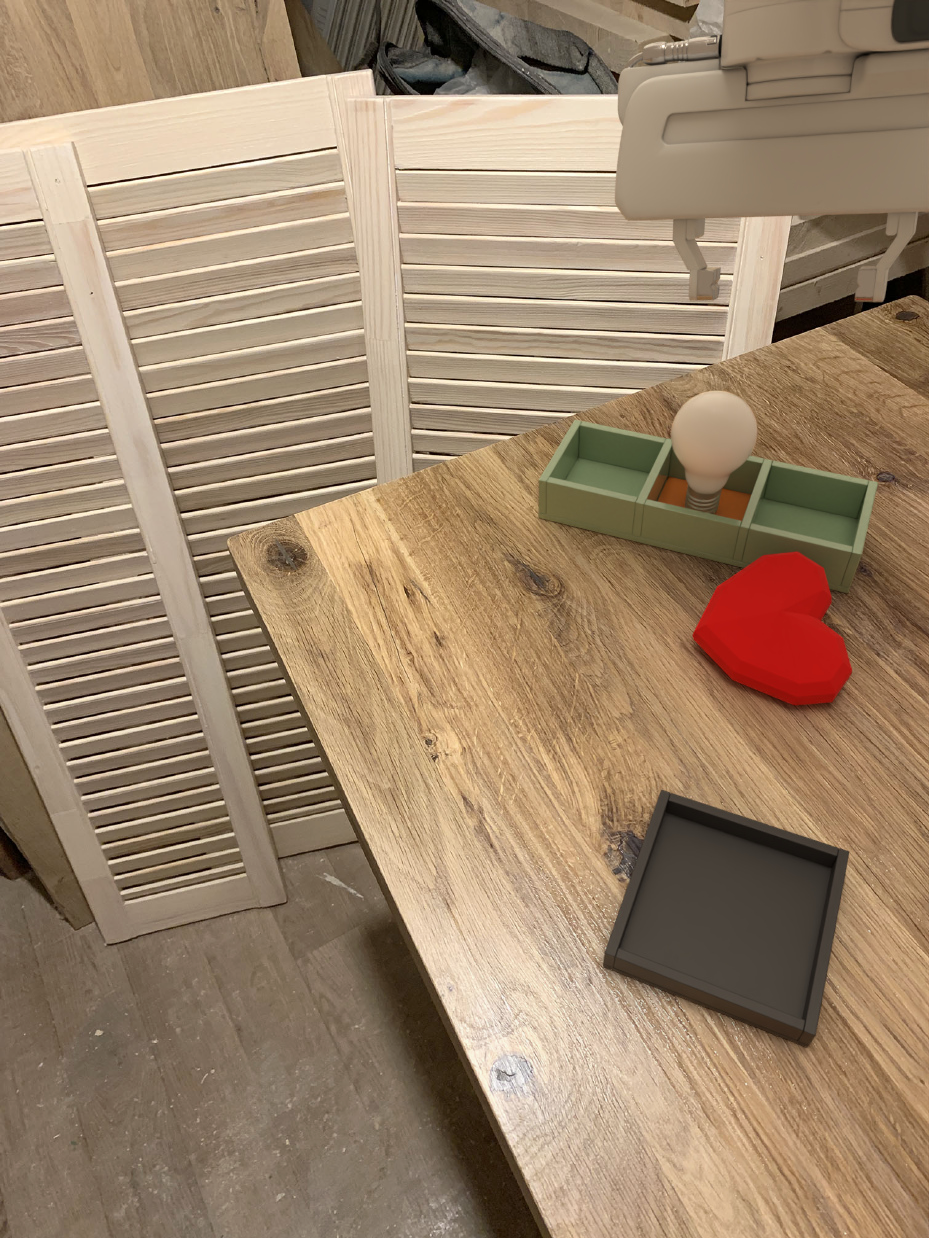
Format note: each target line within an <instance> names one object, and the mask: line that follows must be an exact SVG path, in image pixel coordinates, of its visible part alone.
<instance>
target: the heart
mask: <svg viewBox="0 0 929 1238" xmlns="http://www.w3.org/2000/svg"><path fill="white" fill-rule="evenodd" d="M832 599H833V598H832V594H831V589H829V585H828V582H827V578H826V574H825V571H824V568H823V567H822V566H820V565H818V564H817V563H815V562H814V561H812V560H810V559H809V558H807V557H806V556H804V555H802V554H801V553H799V552H788V553H779V554H769V555H763V556H761V557H760V558H758V559H757V560H755V561H754V562H752V563H751V564H750V565H748V566H747V567H745V568H742V569H741V570H739V571H738V572H736V573H735V574H734V575H732V576H730V577H729V578H728V579H726V580H725V581H723V582H722V583H720V584H718V585H717V586H716V588H715V590H714V591H713V593H712V595H711V598H710V600H709V601H708V603H707V605H706V607H705V609H704V611H703V613H702V615H701V617H700V619H699V621H698V623H697V625H696V627H695V628H694V631H693V632H692V634H691V637H692V639H693V641H694V642H695V643H696V644H697V645H698V646H699V648H701V649H702V650H703V651H704V652H705V653H706V654H707V655H708V656H709V657H710V659H712V660H713V662H714V663H715V664H716V665H717V666H718V667H719V668H720V669H721V670H722V671H723V672H724V673H725V674H726V675H727V676H728V677H729V678H730V679H731V680H732V681H734V682H736V683H739V684H741V685H743V686H746V687H748V688H751V689H753V690H756V691H759V692H761V693H763V694H765V695H768V696H770V697H773V698H775V699H778V700H780V701H782V702H784V703H787V704H790V705H792V706H805V705H817V704H828V703H829V704H830V703H833V702H834V700H835V699H836V698H837V696H838V695H839V693H840V692H841V691H842V689H843V688H844V686H845V685H846V683H847V682H848V680H849V679H850V677H851V675H852V674H853V668H852V664H851V660H850V656H849V654H848V653H849V652H848V650H847V647H846V644H845V640H844V637H842V636H841V635H840V634H838V633H837V632H836V631H835V630H833V629H832V628H831V627H829V626H828V625H827V624H825V623H824V622H823V621H822V620H823V619H824V616H825V615H826V613H827V611H828V610H829V608H830V606H831V605H832V603H833V600H832Z"/></svg>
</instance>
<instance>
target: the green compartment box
mask: <svg viewBox="0 0 929 1238" xmlns="http://www.w3.org/2000/svg"><path fill="white" fill-rule="evenodd" d="M687 486H688V483H687V481H686V477H685V469H684V467H683V465H682V464H681V463H680V461H679V460H678V458H677V457H676V455H675V453H674V450H673V447H672V443H671V438H668V437H662V436H657V435H652V434H647V433H642V432H637V431H634V430H633V431H632V430H628V429H625V428H624V429H623V428H618V427H613V426H610V425H603V424H599V423H594V422H590V421H584V420H581V419H574V420H573V422H572V423H571V425H570V427H569V428H568V430H567V431H566V433H565V435H564V436H563V438H562V440H561V442H560V443H559V445H558V447H557V448H556V450H555V452H554V453H553V455H552V457H551V458H550V460H549V462H548V464H547V465H546V467H545V468H544V470H543V472H542V474H541V475H540V477H539V479H538V519H542V520H546V521H550V522H554V523H557V524H562V525H566V526H571V527H575V528H579V529H583V530H587V531H589V532H590V531H591V532H595V533H600V534H602V535H608V536H611V537H615V538H618V539H624V540H626V541H627V540H628V541H631V542H636V543H639V544H643V545H648V546H652V547H656V548H661V549H664V550H669V551H672V552H677V553H681V554H685V555H689V556H693V557H697V558H701V559H705V560H708V561H713V562H718V563H721V564H725V565H730V566H733V567H738V568H742V569H744V568H745V567H747V566H748V565H750V564H751V563H752V562H754V561H755V560H757V559H758V558H760V557H761V556H763V555H769V554H779V553H788V552H799V553H801V554H802V555H804V556H806V557H807V558H809V559H810V560H812V561H814V562H815V563H817V564H818V565H820V566H822V567H823V568H824V571H825V574H826V578H827V582H828V585H829V589H830V591H831V590H832V591H836V592H840V593H844V594H849V592H850V590H851V587H852V585H853V581H854V578H855V576H856V572H857V570H858V567H859V564H860V562H861V559H862V556H863V552H864V548H865V543H866V540H867V539H866V538H867V534H868V530H869V525H870V522H871V517H872V512H873V508H874V502H875V499H876V495H877V490H878V486H879V482H878V481H875V480H869V479H865V478H860V477H855V476H851V475H846V474H840V473H836V472H831V471H826V470H821V469H817V468H813V467H806V466H802V465H799V464H793V463H788V462H784V461H777V460H772V459H768V458H764V457H761V456H755V455H750V457H749V458H748V459H747V460H746V462H745V463H744V464H743V465H741V466H740V467H739V468H738V469H737V470H735V471H734V472H732V473H731V474H730V476H729V478H728V480H727V482H726V484H725V485H724V487H723V488H722V491H721V495H720V501H719V506H718V510H717V512H716V513H715V514H709V513H705V512H701V511H696V510H692V509H688V508H685V501H686V500H685V499H686V494H687Z"/></svg>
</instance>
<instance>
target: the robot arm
mask: <svg viewBox="0 0 929 1238" xmlns="http://www.w3.org/2000/svg"><path fill="white" fill-rule="evenodd" d="M640 62H642V63H643V66H636V65H637V64H638V63H640ZM617 83H618V84H617V114H618V115H617V116H618V120H619V122H620V124H621V126H622V129H621V134H620V140H619V145H618V146H619V147H618V153H617V154H618V155H617V161H616V162H617V163H616V172H615V185H614V204H615V207H616V208H617V209H618V211H619V213H620V214H621V215H622V217H623V218H624V219H625V220H627V221H629V222H635V221H636V222H640V221H669V220H670V221H671V220H672V243H673V244H674V246H675V248H676V250H677V253H678V254H679V256H680V258H681V260H682V262H683V264H684V266H685V268H686V270H687V271H689V276H688V277H689V280H688V300H689V301H692V302H693V301H694V302H697V301H699V302H701V301H703V302H706V301H708V302H709V301H710V302H711V301H713V302H714V301H715V300H717V299H718V298H719V295H720V284H719V281H720V280H721V269H722V267H718V266H711V267H710V266H708V264H707V262H706V259H705V258H704V255H703V253H702V250H701V249H700V247H699V244H698V242H697V240H696V239H700V238H702V237H704V235H705V229H706V219H734V218H736V219H737V218H767V217H768V218H769V217H770V218H771V217H799V216H800V217H801V216H803V217H804V216H831V215H832V216H833V215H834V216H835V215H838V216H839V215H865V214H866V215H867V214H869V215H870V214H887V217H886V225H885V226H886V227H885V235H886V236H888V237H889V236H895V238H894V239H893V240H892V242H891V244H890V245H889V247H888V248H887V249H886V251H885V252H884V254H882V256H881V258H880V259H879V260H878V262H877V264H876V265H861V266H860V268H858V270H857V277H856V284H857V285H858V287H857V288H856V289H855V293H854V302H860V303H883V302H884V300H885V298H886V291H887V286H888V280H889V279H888V277H889V271H890V268H891V267H892V266H893V264H894V263H895V262H896V260H897V259H898V257H899V256H900V255H901V253H902V252H903V250H904V249H905V248H906V246H907V245H908V244H909V242H910V241H911V240H912V238H913V236H914V235H916V232H917V223H918V217H919V213H929V0H724V1H723V16H722V33H721V34H713V35H706V36H698V37H693V38H689V39H685V40H681V41H680V40H679V41H673V42H668V41H656V42H652V43H648V44H646V45H644V46H643V48H642V51H641V52H639V53H637V54H635V55H634V56H632V57H631V58H630V59H629V60H627V62H626V63H625V65H624V66H623V68H622V70H621V72H620V75H619V78H618V82H617Z"/></svg>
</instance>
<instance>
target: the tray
mask: <svg viewBox="0 0 929 1238" xmlns="http://www.w3.org/2000/svg"><path fill="white" fill-rule="evenodd" d="M849 857H850V851H849V850H846V849H844V848H839V847H838V846H834V845H832V844H828V843H825V842H822V841H819V840H817V839H813V838H810V837H808V836H804V835H801V834H798V833H794V832H792V831H789V830H786V829H782V828H780V827H776V826H773V825H771V824H767V823H765V822H762V821H759V820H756V819H752V818H749V817H747V816H743V815H740V814H737V813H734V812H731V811H728V810H724V809H721V808H719V807H715V806H713V805H710V804H706V803H703V802H700V801H697V800H694V799H691V798H689V797H685V796H682V795H679V794H676V793H673V792H670V791H668V790H664V789H661V790H660V791H659V795H658V798H657V800H656V804H655V806H654V809H653V812H652V815H651V817H650V821H649V824H648V826H647V830H646V832H645V835H644V838H643V841H642V844H641V847H640V849H639V852H638V855H637V858H636V860H635V863H634V867H633V869H632V873H631V875H630V877H629V881H628V885H627V887H626V890H625V893H624V896H623V898H622V902H621V904H620V907H619V909H618V913H617V915H616V918H615V921H614V924H613V928H612V930H611V932H610V936H609V938H608V942H607V943H606V944H607V945H606V947H605V950H604V956H603V963H602V967H603V968H605V969H608V970H610V971H613V972H616V973H618V974H621V975H623V976H625V977H628V978H631V979H633V980H635V981H638V982H640V983H643V984H646V985H649V986H651V987H652V988H656V989H659V990H661V991H662V992H663V991H664V992H666V993H668V994H670V995H673V996H676V997H679V998H681V999H683V1000H686V1001H689V1002H691V1003H694V1004H696V1005H699V1006H701V1007H704V1008H706V1009H708V1010H711V1011H713V1012H716V1013H719V1014H721V1015H724V1016H726V1017H728V1018H731V1019H734V1020H737V1021H739V1022H741V1023H744V1024H746V1025H750V1026H751V1027H754V1028H757V1029H759V1030H762V1031H764V1032H766V1033H769V1034H771V1035H774V1036H776V1037H778V1038H781V1039H784V1040H787V1041H788V1042H791V1043H794V1044H797V1045H799V1046H802V1047H804V1048H809V1046H810V1045H811V1043H812V1042H813V1040H814V1039H815V1038H816V1036H817V1030H818V1024H819V1020H820V1014H821V1009H822V1004H823V997H824V994H825V993H824V992H825V989H826V988H825V987H826V982H827V976H828V972H829V971H828V970H829V966H830V961H831V960H830V959H831V955H832V949H833V944H834V938H835V932H836V928H837V922H838V916H839V911H840V905H841V900H842V895H843V890H844V886H845V885H844V884H845V880H846V879H845V878H846V873H847V868H848V863H849Z"/></svg>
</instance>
